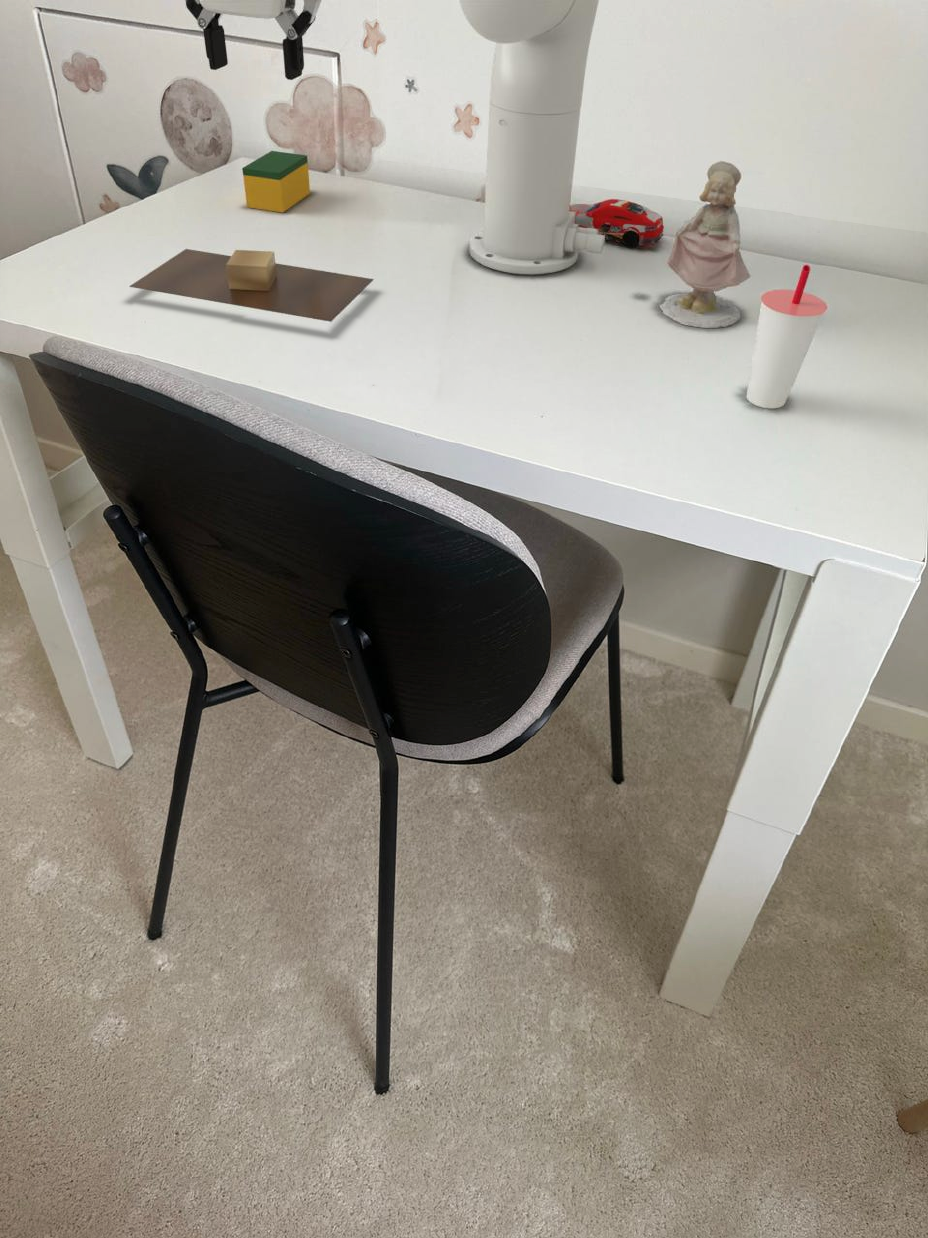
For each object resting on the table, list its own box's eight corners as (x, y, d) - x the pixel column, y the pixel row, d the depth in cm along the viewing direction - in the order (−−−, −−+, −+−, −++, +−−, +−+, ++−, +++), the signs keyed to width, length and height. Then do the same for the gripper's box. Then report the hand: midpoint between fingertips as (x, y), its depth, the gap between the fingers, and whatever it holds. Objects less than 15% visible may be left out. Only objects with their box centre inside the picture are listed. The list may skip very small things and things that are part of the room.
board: (374, 292, 94) (373, 278, 93) (332, 335, 86) (331, 321, 85) (188, 262, 98) (185, 248, 97) (132, 300, 90) (129, 286, 89)
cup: (796, 418, 77) (840, 281, 69) (733, 408, 78) (769, 272, 70) (796, 390, 81) (838, 257, 73) (736, 380, 82) (771, 248, 74)
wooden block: (276, 275, 93) (274, 251, 91) (269, 291, 90) (266, 266, 88) (238, 273, 93) (235, 249, 91) (229, 289, 90) (225, 264, 88)
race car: (548, 233, 109) (551, 199, 106) (563, 220, 112) (566, 186, 110) (652, 253, 105) (658, 218, 102) (665, 238, 109) (671, 204, 106)
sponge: (310, 193, 117) (307, 155, 113) (283, 212, 111) (279, 172, 108) (275, 188, 118) (271, 150, 114) (246, 207, 112) (241, 167, 109)
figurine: (628, 318, 90) (660, 152, 84) (637, 311, 99) (667, 161, 92) (737, 335, 88) (778, 166, 82) (736, 326, 97) (773, 174, 90)
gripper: (144, -121, 92) (173, 70, 103) (298, -108, 89) (310, 88, 100) (182, -125, 97) (206, 57, 109) (328, -112, 94) (337, 74, 106)
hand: (256, 72), depth 105 cm, fingers open, 9 cm apart
